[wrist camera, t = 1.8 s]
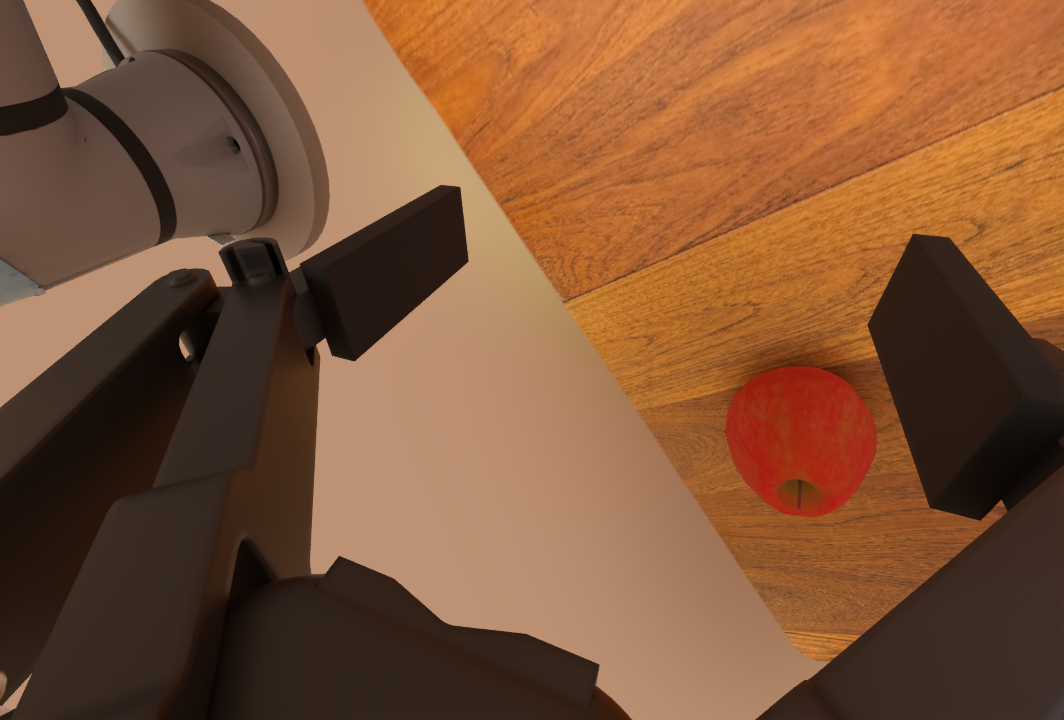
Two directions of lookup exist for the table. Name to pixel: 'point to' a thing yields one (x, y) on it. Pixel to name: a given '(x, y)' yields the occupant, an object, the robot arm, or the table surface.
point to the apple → (801, 439)
